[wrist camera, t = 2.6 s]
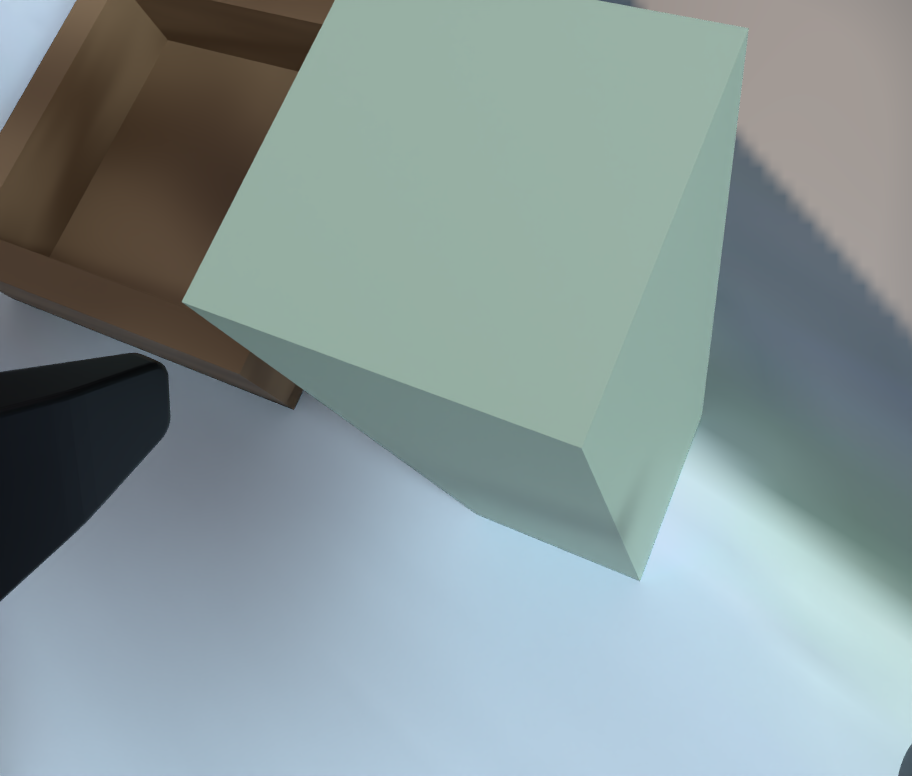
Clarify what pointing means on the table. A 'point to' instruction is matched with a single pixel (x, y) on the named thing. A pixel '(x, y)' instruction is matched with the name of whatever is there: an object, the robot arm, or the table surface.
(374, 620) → the table surface
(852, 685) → the table surface
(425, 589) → the table surface
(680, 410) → the post
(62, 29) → the socket base
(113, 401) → the robot arm
